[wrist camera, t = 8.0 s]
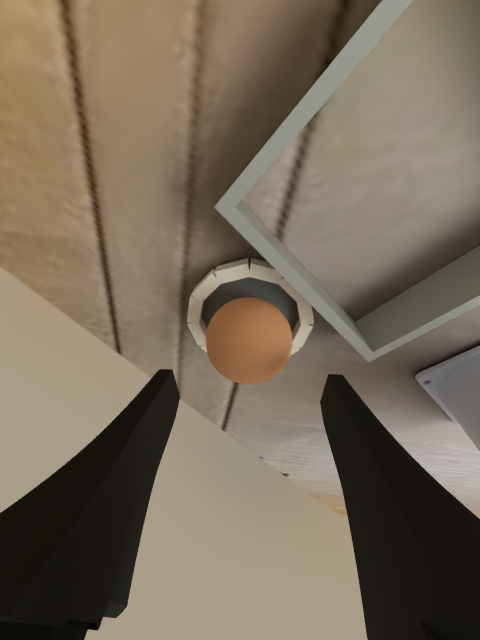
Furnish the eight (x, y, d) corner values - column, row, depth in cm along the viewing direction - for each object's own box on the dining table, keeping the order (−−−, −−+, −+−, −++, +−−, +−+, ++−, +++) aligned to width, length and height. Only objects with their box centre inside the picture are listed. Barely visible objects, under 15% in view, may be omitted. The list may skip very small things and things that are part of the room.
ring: (333, 314, 16) (338, 325, 15) (249, 370, 19) (249, 381, 18) (250, 228, 13) (249, 234, 12) (169, 312, 16) (163, 323, 15)
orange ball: (302, 317, 15) (319, 375, 11) (248, 354, 18) (246, 413, 13) (250, 266, 13) (248, 313, 9) (197, 314, 16) (177, 370, 12)
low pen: (587, 190, 11) (683, 200, 8) (351, 331, 16) (368, 362, 14) (513, -162, 6) (676, -362, 4) (222, 196, 12) (214, 207, 9)
